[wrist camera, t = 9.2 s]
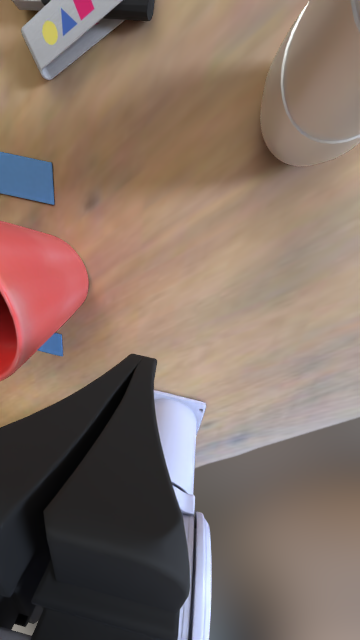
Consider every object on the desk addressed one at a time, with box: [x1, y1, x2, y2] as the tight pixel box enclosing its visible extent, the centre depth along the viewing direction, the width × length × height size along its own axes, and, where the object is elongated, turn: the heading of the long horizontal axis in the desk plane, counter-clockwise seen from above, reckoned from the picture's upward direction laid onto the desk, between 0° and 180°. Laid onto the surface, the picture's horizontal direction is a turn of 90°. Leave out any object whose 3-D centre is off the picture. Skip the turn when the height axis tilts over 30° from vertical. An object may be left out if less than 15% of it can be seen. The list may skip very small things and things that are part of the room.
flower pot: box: [0, 221, 89, 381], centre depth 15 cm, size 11×11×10 cm
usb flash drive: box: [12, 0, 154, 80], centre depth 12 cm, size 9×5×1 cm, turn 83°
